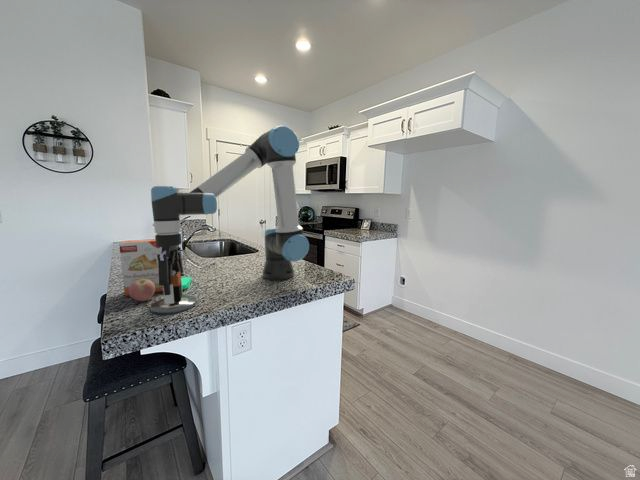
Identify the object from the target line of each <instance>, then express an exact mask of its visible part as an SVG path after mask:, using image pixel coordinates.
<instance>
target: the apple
mask: <svg viewBox="0 0 640 480" xmlns="http://www.w3.org/2000/svg"><path fill="white" fill-rule="evenodd" d="M155 293H156V292H155V285H154V283H153V282H152V281H151V280H149V279H139V280H136V281H134V282H133V283H132V284H131V285H130V287H129V294H130V295H129V296H130V297H131V299H133V300H134V301H137V302H146V301H149V300H151V298H153V296H154V295H155Z"/></svg>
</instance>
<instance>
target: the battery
mask: <svg viewBox="0 0 640 480" xmlns="http://www.w3.org/2000/svg"><path fill="white" fill-rule="evenodd" d="M181 278H182V276H181V274H180V272H179V271H178V272H175V270H172V278H171V284H173V293H174V302H180V301H181V298H182V295H183V294H182V291H183V289H182V285H181Z"/></svg>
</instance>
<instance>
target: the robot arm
mask: <svg viewBox="0 0 640 480" xmlns="http://www.w3.org/2000/svg"><path fill="white" fill-rule="evenodd" d="M299 149H300V140H299V137H298V135H297V133H296V132H295V131H294V130H293V129H292V128H291V127H289V126H286V125H278V126H275V127H273V128H271V129H270V130H268V131H266V132H264V133H262V134H261V135H260V136H259V137H258V138H257V139H256V140H255V141H254V142H253V143H252V144H250V145H249V146H248V147H246V148H245V149H244V150H245V151H244V153H242V154H241V155H240V156H238V157H237V158H235V159H234V160H233V161H231V162H229V163H228V164H227V165H226V166H224V167H223V168H222V169H220V170H219V171H218V172H216V173H215V174H213V175H212V176H210V177H209V178H208V179H207V180H205V181H204V182H203V183H200V185H197V187H195V188H193V190H191V191H190V192H180V191H178V188H177V187H176V186H172V185H171V186H170V185H168V186H167V185H156V186H152V187H151V189H150V196H151V200H150V201H151V210H152V217H153V223H152V227H154V233H155V235H154V239H155V240H156V245H157V246H161V247H162V252H161V254H158V255H157V258H158V268H159V285H160V286H162V285H163V291H162V292H163V299H164V302H165V304H173V303H174V293H173V284H171V278H172V270H175V272H178V271H179V272H180V274H181V277H184V275H185V273H184V267H183V261H182V260H183V259H182V248H181V247H180V245H182V241H183V240H182V234H181V233H180V232H181V231H182V230H181V229H182V228H181V220H180V219H181V218H180V216H185V215H186V216H189V215H190V216H191V215H199V216H200V215H205V216H206V215H214V214H216V212H217V210H218V209H217V208H218V202H217V198H218V197H220V196H221V195H223V193H225V192H226V191H228V190H229V189H230V188H232V187H233V186H234V185H235V184H237V183H238V182H240V181H241V180H242V179H244V178H245V177H246V176H248V175H249V174H250V173H252V172H253V171H255V170H256V169H261V168H262V167H264V166H265V165H268V166H269V167H270V168H271V173H272V181H273V190H274V198H275V209H276V215H277V224H278V227H277V228H269V229H266V230H265V231H264V245H265V246H264V249H265V262H264V266H263V269H262V272H261V273H262V278H263V279H265V280H269V281H282V280H287V279H291V278H294V276H295V269H294V267H293V264H292V262H299V261H301V260H303V259H304V258H305V257H306V256H307V254H308V252H309V250H310V242H309V240H308V238H307V237H306V236H305V235H304V228H303V227H302V226H301V225H300V223H299V215H298V206H297V205H298V203H297V194H296V183H295V176H294V165H296V163H297V159H296V154H297V152H298V151H299ZM181 285H182V280H181ZM182 295H184V293H183V290H182Z"/></svg>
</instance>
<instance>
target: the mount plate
mask: <svg viewBox="0 0 640 480" xmlns="http://www.w3.org/2000/svg"><path fill="white" fill-rule="evenodd" d="M197 301H198V300H197V297H196V296H194V295H187V294H186V295H185V294H182V298H181V301H180V302H174V303H173V304H165V302H164V298H162V299H158V300H156V301H155V302H153V303H151V305H150V312H151V313H152V314H155V315H164V316H165V315H173V314H178V313H181V312H185V311H188V310H191V309H193V308H194V307H195V306H196V305H197Z"/></svg>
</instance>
